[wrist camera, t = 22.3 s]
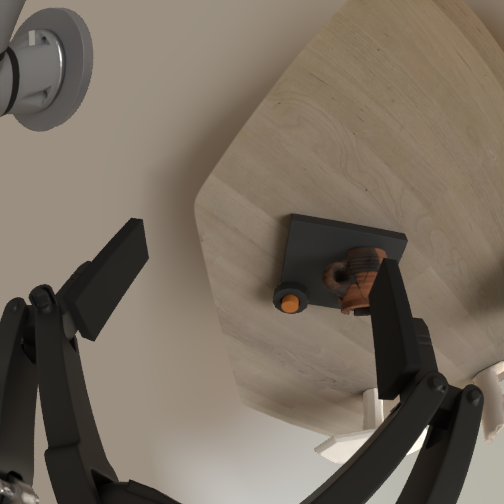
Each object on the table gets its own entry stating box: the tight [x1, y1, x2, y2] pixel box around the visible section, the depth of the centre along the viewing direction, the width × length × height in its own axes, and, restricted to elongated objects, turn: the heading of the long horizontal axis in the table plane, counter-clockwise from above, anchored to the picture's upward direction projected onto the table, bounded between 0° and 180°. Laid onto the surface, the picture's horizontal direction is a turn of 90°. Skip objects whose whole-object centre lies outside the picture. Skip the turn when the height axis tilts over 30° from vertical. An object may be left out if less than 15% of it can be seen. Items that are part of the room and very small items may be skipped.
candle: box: [473, 361, 504, 443], centre depth 47 cm, size 7×14×20 cm, turn 131°
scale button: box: [281, 294, 299, 313], centre depth 46 cm, size 3×3×2 cm
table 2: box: [314, 388, 427, 463], centre depth 59 cm, size 28×28×17 cm
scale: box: [273, 214, 408, 314], centre depth 44 cm, size 18×16×4 cm
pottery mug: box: [321, 247, 387, 316], centre depth 41 cm, size 12×10×8 cm
